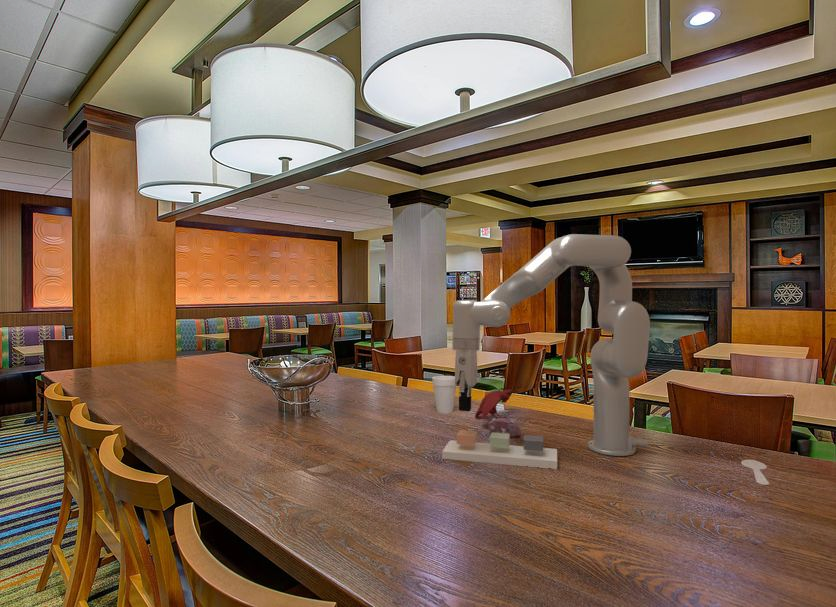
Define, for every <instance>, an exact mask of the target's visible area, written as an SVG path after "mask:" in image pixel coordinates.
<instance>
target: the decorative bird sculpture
mask: <svg viewBox="0 0 836 607" xmlns="http://www.w3.org/2000/svg"><path fill="white" fill-rule="evenodd" d="M513 393H514V389H506V390H499V389H498V390H493V391H490V392H488V393H487V394H486V395H485V396H483V398H482V400H481V402H480V403H479V404H480V405H479V407H478V408H477V410H476V413H475V415H474V418H476V417H477V418H478V417H480V415H481V417H480V418H481V419H482V421H484V420H485V419H486V417H487V416H488V415H490V416H493V417H494V418H495V419H498V417H499V418H503V415H502V416H500V415H499V414H498V411H497V405H498V404H499V403H500V402H501V403H507V401H508V400H510V398H511V396H512V394H513ZM496 415H497V416H496ZM477 418H476V419H477Z"/></svg>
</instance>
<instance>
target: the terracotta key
mask: <svg viewBox="0 0 836 607" xmlns="http://www.w3.org/2000/svg"><path fill="white" fill-rule="evenodd" d="M478 440H479V438H478V431H477V430H465V429H459V431H458V432H457V433H456V441H457V444H461V445H473V446H475V444H476V443H478V442H477V441H478Z"/></svg>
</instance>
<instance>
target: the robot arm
mask: <svg viewBox="0 0 836 607" xmlns="http://www.w3.org/2000/svg"><path fill="white" fill-rule="evenodd" d="M631 254H632V248H631V245H630V243H629V242H628V240H626V239H625V238H624V237H621V236H619V235H611V234H609V235H608V234H606V235H605V234H580V233H579V234H577V233H571V234H567V235H566V234H565V235H563V236H561V237H557V238H556V239H554V240H552V241H551V242H549V244H547V245H545V247H544V248H543V249H542V250H540V252H538V253H537V254H536V255H535V256H533V258H531V259H530V260H529V261H528V262H527V263H525V264H524V265H523V266H522V267H521V268H519V270H518V271H516V272H514V273H513V274H512V275H511V276H510V277H509V278H507V279H506V280H505V281H503V282H502V283H501V284H500V285H499V286H497V287H496V288H494V290H493V291H491V292H489V294H488V295H486V296H485V297H484V298H483V299H482V300H481V301H478V300H472V299H471V300H468V299H467V300H466V299H463V300H462V299H460V300H455V301H454V302H453V305H452V346H451V347H452V350H453V351H455V357H454V360H455V362H454V365H455V366H454V377H455V385H456V388H457V387H458V411H460V412H470V411H471V410H472V388H473V387H474V386H475V385H476V384H477V383H478V381H479V380H478V377H479V376H478V375H479V374H478V353H477V352H478V351H480V345H481V343H480V342H481V340H480V338H481V337H480V336H481V330H480V329H481V326H483V327H491V328H501V327H503V326H505V325H506V324H507V323H508V322H509V320H510V318H511V309H512V308H514V306H516V305H517V304H519V303H521V302H522V301H524V300H526V299H528V298H531V297H533V296H535V295H537V294H539V293H541V292H542V291H543V290H544V289H546V287H548V286H549V285H550V284H551V283H553V282H554V280H556V278H558V277H559V276H560V275H561V274H562V273H564V272H565V271H566V270H567V269H568V268H570V267H574V266H579V267H588V268H590V269H591V270H592V271H593V272H594V273H595V275H596V276H597V279H598V281H599V299H598V300H599V301H598V313H597V323H598V326H599V328H600V329H601V330H602V331H603V332H605V333H608V334H610V335H613V337H612V338H603V339H600V340H598V341H597V342H595V343H594V345H593V346H592V348H591V351H590V364H591V365H590V366H591V371H592V379H593V380H592V381H593V439H590V440H589V441H588V442H587V447H588V449H589V450H590V451H592V452H595V453H598V454H602V455H605V456H614V457H625V456H627V457H629V456H632V455H634V454H635V453H636V449H637V448H636V447H638V446H640V447H649V440H648V439H643V438H642V437H639V436H638V437H633V435H632V434H631V433H630V424H631V423H630V422H631V420H630V397H631V396H630V391H631V390H630V388H631V387H630V382H629V378H635V377H637V376H638V375H639V376H640V374H641V373H643V371H644V369H645V368H646V365H647V361H648V353H649V343H650V330H651V320H650V315H649V313H648V311H647V309H646V308H645V307H644V306H643V305H642V304H641V303H639V302H636V301H633V280H632V275H631V273H630V271H629V269H628V267H627V265H626V264H627V262H628V261H629V259H630V257H631Z"/></svg>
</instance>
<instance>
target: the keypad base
mask: <svg viewBox="0 0 836 607" xmlns="http://www.w3.org/2000/svg"><path fill="white" fill-rule="evenodd" d="M441 457H442V458H441V459H442V460H452V461H462V462H463V461H464V462H474V463H483V464H484V463H486V464H494V465H495V464H496V465H506V466H507V465H508V466H516V465H517V466H518V467H526V466H528V468H537V467H539V469H548V468H551V470H558V449H557V448H548V447H543V451H534V450H524V445H514V444H513V445H512V444H509V448H497V447H489V442H487V443H486V442H476V444H475V446H473V445H461V444H457V440H451V439H450V440H449V441H448V443H447V444H446V446H445V447H444V448H443V450H442V452H441Z"/></svg>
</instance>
